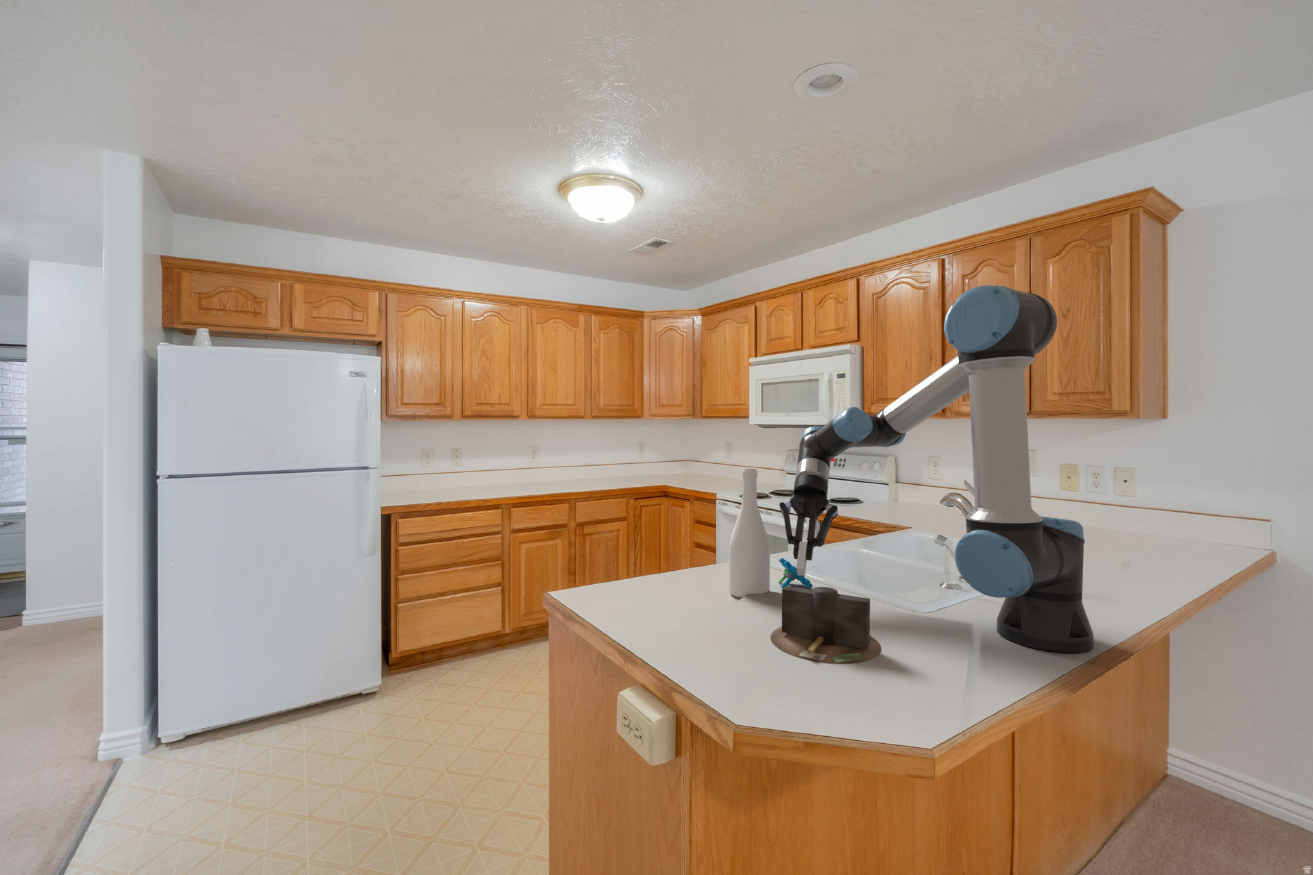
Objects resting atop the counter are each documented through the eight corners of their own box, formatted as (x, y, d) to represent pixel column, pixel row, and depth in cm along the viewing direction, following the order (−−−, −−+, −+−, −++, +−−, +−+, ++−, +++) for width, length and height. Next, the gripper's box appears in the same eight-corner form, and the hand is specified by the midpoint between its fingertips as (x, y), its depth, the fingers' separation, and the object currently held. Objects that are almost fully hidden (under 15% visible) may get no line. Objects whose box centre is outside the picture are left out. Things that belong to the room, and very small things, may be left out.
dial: (889, 642, 105) (889, 633, 105) (869, 682, 89) (869, 672, 89) (789, 623, 115) (789, 615, 115) (754, 656, 99) (754, 647, 99)
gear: (820, 587, 135) (789, 557, 135) (803, 606, 134) (773, 576, 134) (805, 581, 146) (777, 553, 146) (789, 598, 145) (761, 570, 145)
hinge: (870, 644, 100) (871, 593, 100) (857, 668, 90) (857, 611, 90) (787, 628, 108) (787, 581, 108) (766, 648, 98) (767, 596, 98)
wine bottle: (721, 591, 137) (721, 467, 137) (754, 586, 141) (754, 466, 141) (743, 602, 129) (743, 470, 128) (777, 597, 133) (778, 468, 132)
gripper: (841, 494, 132) (834, 584, 118) (784, 491, 137) (771, 577, 122) (840, 473, 127) (832, 565, 112) (781, 471, 132) (766, 559, 117)
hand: (800, 571), depth 117 cm, fingers closed
